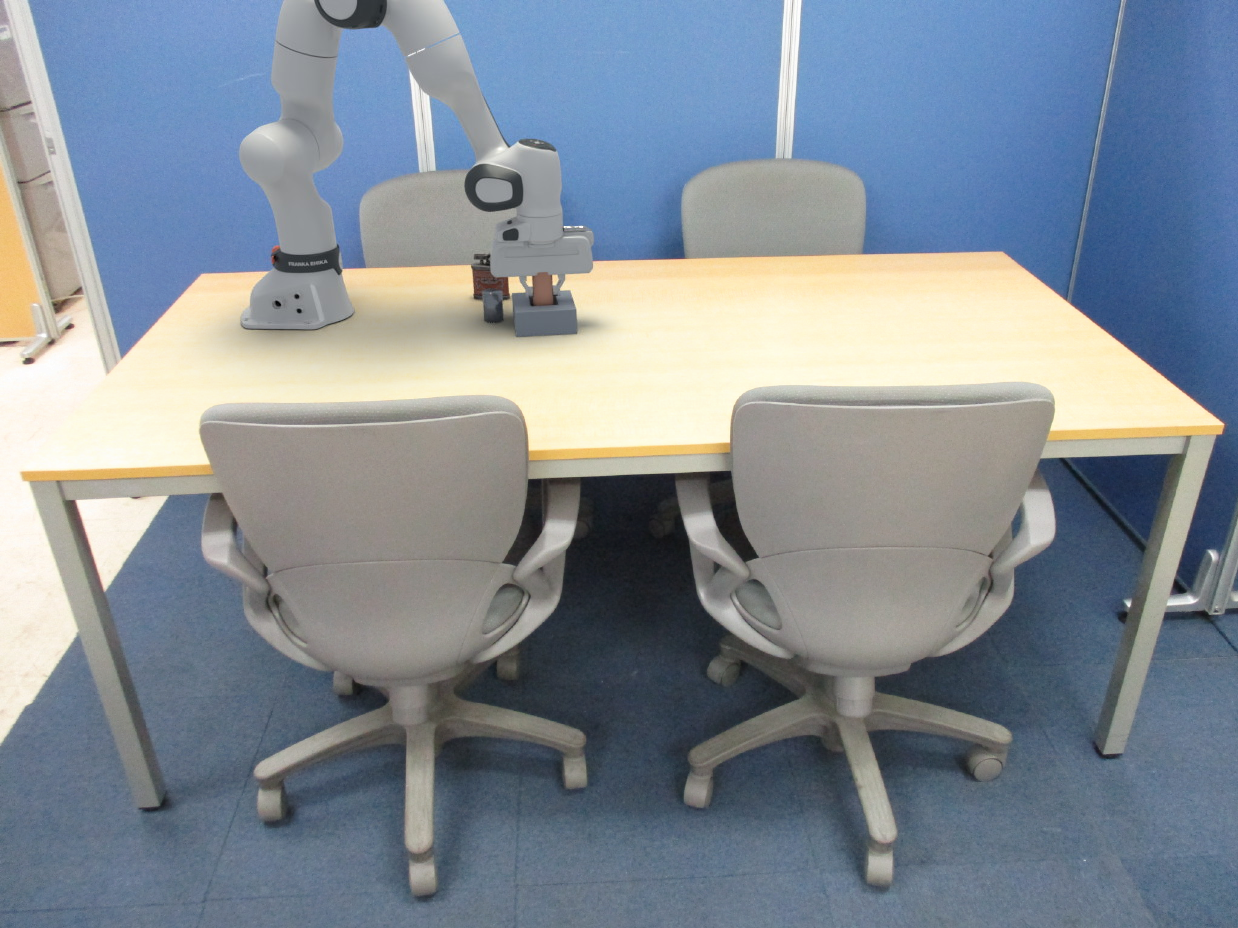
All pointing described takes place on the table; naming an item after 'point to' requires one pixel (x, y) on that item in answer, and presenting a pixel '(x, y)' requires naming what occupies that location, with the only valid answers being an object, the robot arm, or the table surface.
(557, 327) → the bore block
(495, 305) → the short pin
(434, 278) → the table surface
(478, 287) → the lighter
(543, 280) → the long pin
